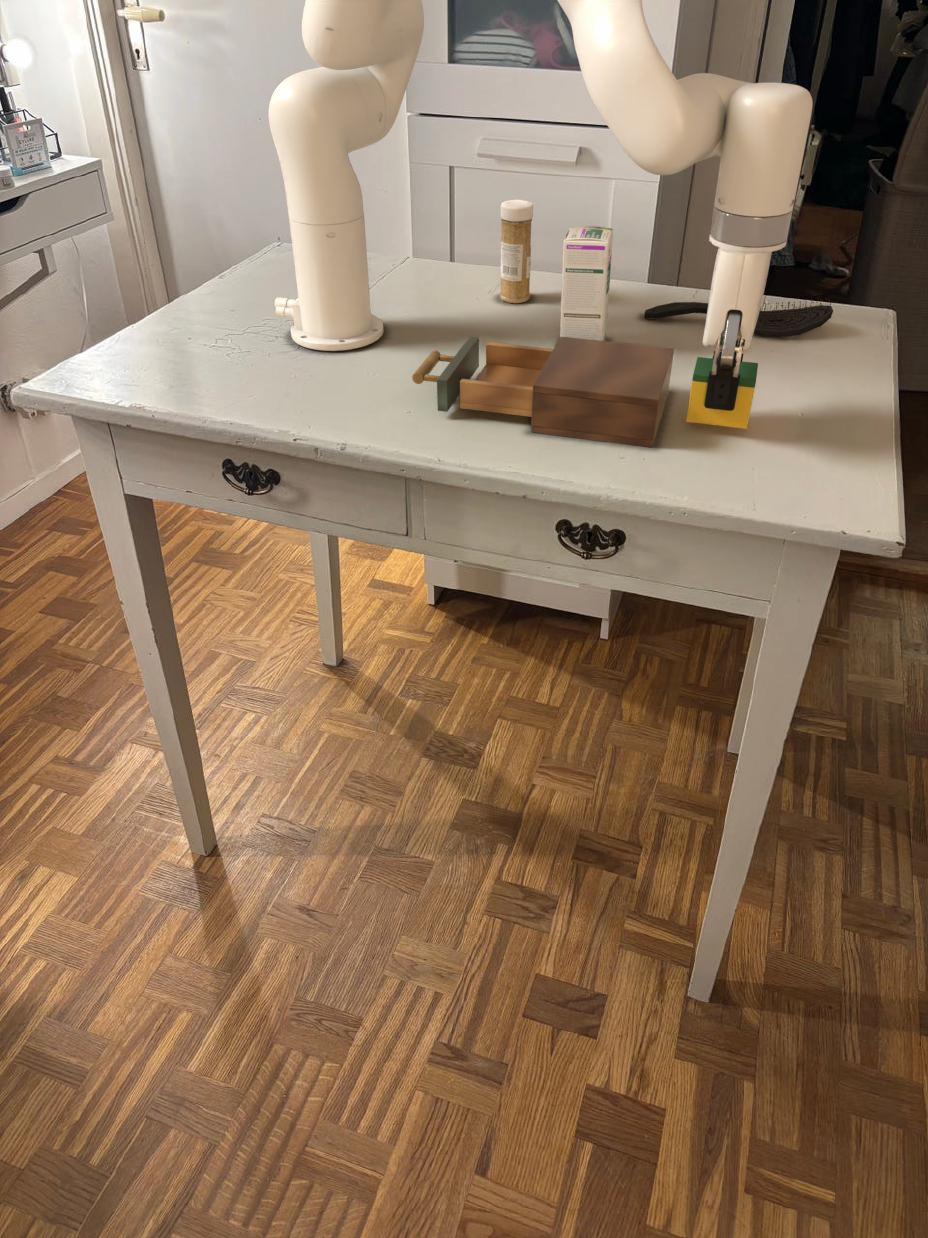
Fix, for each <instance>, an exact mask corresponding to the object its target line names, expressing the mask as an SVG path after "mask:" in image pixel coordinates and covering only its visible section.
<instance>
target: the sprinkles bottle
mask: <svg viewBox="0 0 928 1238" xmlns="http://www.w3.org/2000/svg"><path fill="white" fill-rule="evenodd" d="M533 217H534V204H533V203H532V202H531V201H528V200H525V199H510V200H505V201H503V202H501V204H500V221H501V236H500V275H499V276H500V294H499V298H500V300H501V301H502V302H505V303H509V304H520V303H525V302H527V301H529V300H530V298H531V293H530V287H531V286H530V285H531V282H530V280H531V268H532V267H531V265H532V263H531V262H532V261H531V260H532V255H531V253H532V245H531V242H532V221H533Z"/></svg>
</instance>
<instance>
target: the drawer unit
mask: <svg viewBox="0 0 928 1238" xmlns="http://www.w3.org/2000/svg"><path fill="white" fill-rule="evenodd" d="M552 349H553V351H552V353H551V354H550V356H549V358H548V360H547V362H546V363H545V365H544V367H543V369H542V370H541V372H540V374H539V376H538V378H537V379H536V381H535V383H534V385H533V395H532V417H531V422H530V423H531V425H530V432H531V433H536V434H542V435H543V434H544V435H551V436H560V437H565V438H566V437H567V438H575V439H583V440H591V441H599V442H608V443H615V444H623V445H629V446H630V445H631V446H638V447H639V446H640V447H648V448H653V446H654V443H655V439H656V436H657V433H658V430H659V425H660V423H661V419H662V417H663V416H662V415H663V413H664V409H665V406H666V402H667V398H668V396H669V395H668V394H669V390H670V384H671V382H670V381H671V375H672V368H673V361H674V353H675V347H667V346H657V345H647V344H638V343H628V342H627V343H626V342H619V341H607V340H605V341H599V340H589V339H579V338H569V337H560V336H559V338H558V340H557V342H556V344H555V345H554V348H552Z"/></svg>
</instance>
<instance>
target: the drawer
mask: <svg viewBox="0 0 928 1238" xmlns="http://www.w3.org/2000/svg"><path fill="white" fill-rule="evenodd" d="M485 346H486V347H485V365H484V367H483V368H482V369H481V371H480V372H479V373H478V375H477V377H476V378H475V379H472V377H473V376H474V374H475V373H476V371H477V370H478V369H479V367H480V337H479V336H472V335H471V336H468V337H467V340H466V341H465V342H464V343H463V344H462V347H460V348H459V350H458V351H457V353H456V354H455V355H448V354H447V355H445V354H441V352H440V351H438V350H435V349H434V350H432V351H431V352H430V353H429V354H428V355H427V357H426V358H425V359H424V360H423V362H422V363H421V364H420V365H419V367H418V368H417V369H416V370H415V371H414V373H413V374H412V376H411V379H412V381H413V382H414V384H416V385H422V384H423V383H424V382H431V383H436V400H437V401H436V403H437V405H436V406H437V411H438V412H444V413H447V412H449V410H450V409H451V407H452V406H453V405H454V403H455V402H456V401H457V399H458V398H459V407H460V409H463V410H470V411H471V410H473V411H480V412H488V413H497V414H504V415H513V416H519V417H520V416H521V417H530V418H532V395H533V385H534V383H535V381H536V379H537V378H538V376H539V374H540V372H541V370H542V369H543V367H544V365H545V363H546V362H547V360H548V358H549V356H550V354H551V353H552V351H553V349H554V348H549V347H548V348H547V347H538V346H529V345H521V344H520V345H519V344H509V343H501V342H492V341H491V342H490V341H488V342H487V343H486V344H485ZM439 362H446V363H448V364H447V366H445V369H444V370H443V371H442V372H441V374H440V375H436V374H435V375H434V374H430V373H431V372H432V371H433V370H434V368H435V367H436V366H437V364H438V363H439Z"/></svg>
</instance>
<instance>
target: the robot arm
mask: <svg viewBox="0 0 928 1238" xmlns="http://www.w3.org/2000/svg"><path fill="white" fill-rule="evenodd" d="M556 1H557V2H558V4H559V5H560V7H561V9H562V10H563V13H565V15H566V17H567V19H568V21H569V23H570V26H571V31H572V37H573V43H574V49H575V53H576V56H577V60H578V64H579V68H580V71H581V75H582V78H583V79H582V80H583V82H584V85H585V88H586V90H587V92H588V94H589V96H590V98H591V101H592V103H593V104H594V106H595V108H596V110H597V112H598V113H599V114H600V116H601V118H602V119H603V121H604V123H605V124H606V125H607V127H608V129H609V130H610V132H611V133H612V135H613V137H614V138H615V139H616V141H617V143H618V144H619V146H620V147H621V149H622V150H623V151H624V153H625V154H626V155H627V156H628V158H630V160H631V161H632V162H634V163H635V165H637V166H638V167H640V169H642V170H644V171H645V172H647V173H649V174H652V175H656V176H673V175H675V174H677V173H678V174H679V173H680V172H683V171H685V170H687V169H688V168H690V167H693V165H695V164H697V163H699V162H702V161H705V160H708V159H712V158H715V157H716V158H717V157H720V160H719V161H720V162H719V167H718V168H719V169H718V174H717V175H718V176H717V182H716V189H715V197H714V203H713V211H712V217H711V225H710V232H709V238H708V241H709V243H711V244H712V245H713V246H715V247H717V253H716V257H715V262H714V266H713V273H712V278H711V285H710V291H709V297H708V303H709V304H708V310H707V314H706V318H705V324H704V330H703V337H702V345H703V346H704V347H705V348H708V347H709V346H713V347H714V346H715V347H714V349H715V350H713V355H712V358H714V361H713V367H712V371H710V372H709V378H708V385H707V391H706V397H705V403H704V406H705V407H706V408H709V409H718V410H727V411H732V410H734V408H735V402H736V397H737V391H738V385H739V380H740V374H738V372H739V366H740V361H744V353H743V352H744V351H747V350H748V349H750V346H751V343H752V340H753V337H754V334H753V333H754V330H755V326H756V323H757V319H758V315H759V311H761V310H760V308H761V309H762V304H763V303H762V302H763V298H764V294H765V288H766V285H767V279H768V275H769V269H770V266H771V265H770V264H771V260H772V259H771V258H772V254H773V252H776V251H779V250H782V249H783V248H785V247H786V246H787V243H788V237H789V232H790V227H791V226H790V225H791V221H792V215H793V211H794V205H795V202H796V201H795V200H796V195H797V190H798V186H799V185H798V184H799V180H800V175H801V170H802V164H803V161H804V160H803V159H804V155H805V149H806V144H807V139H808V134H809V129H810V124H811V123H810V122H811V118H812V112H813V105H814V104H813V97H812V95H811V92H810V91H809V90H808V89H806V88H805V87H803V86H801V85H799V84H793V83H785V82H772V81H771V82H755V83H752V82H748V81H745V80H744V81H743V80H739V79H734V78H731V77H727V76H724V75H720V74H716V73H708V72H699V73H693V74H689V75H687V76H684V77H681V78H678V79H677V78H676V76H675V75H674V74H673V71H672V70H671V68H670V67H669V65H668V64H667V62H666V61H665V58H664V57H663V55H662V54H661V52H660V50H659V48H658V46H657V45H656V43H655V41H654V38H653V36H652V35H651V32H650V29H649V27H648V23H647V21H646V17H645V14H644V8H643V0H556ZM424 13H425V12H424V6H423V1H422V0H305V1H304V5H303V12H302V18H301V38H302V42H303V45H304V48H305V50H306V52H307V54H308V55H309V57H310V58H311V59H312V60H313V61H314V62H315V63H316V64H318V65H320V66H319V67H314V68H310V69H306V70H302V71H299V72H296V73H293V74H292V75H290V76H287V77H286V78H285V79H284V80H282V81H281V82H280V83H279V84H278V85H277V86H276V87H275V90H274V91H273V93H272V95H271V97H270V100H269V104H268V114H267V115H268V124H269V129H270V130H269V131H270V134H271V137H272V141H273V143H274V146H275V151H276V154H277V158H278V161H279V164H280V169H281V174H282V178H283V184H284V191H285V199H286V205H287V215H288V222H289V227H290V228H289V230H290V239H291V245H292V246H291V247H292V255H293V264H294V272H295V281H296V282H295V283H296V288H297V297H296V299H293V298H289V297H282V296H277V297H276V298H275V299H274V304H273V305H274V309H275V310H274V311H275V316H276V317H278V318H291V320H292V321H293V323H292V325H291V327H290V337H291V339H292V340H293V342H295V344H297V345H299V346H301V347H304V348H307V349H310V350H314V351H323V352H324V351H325V352H339V351H350V350H355V349H359V348H363V347H366V346H369V345H372V344H374V343H375V342H377V341H378V340H379V339H380V338H382V336H383V335H384V323H383V320H382V319H381V318H379V317H377V316H376V315H374V314H372V306H371V294H370V278H369V266H368V250H367V237H366V221H365V210H364V198H363V192H362V187H361V184H360V181H359V178H358V176H357V174H356V172H355V170H354V166H353V165H352V163H351V160H350V157H349V153H351V152H354V151H357V150H360V149H363V148H366V147H369V146H372V145H375V144H376V143H378V142H380V141H381V140H382V139H384V138H385V137H386V136H387V135H388V134H389V133H390V131H391V130H392V128H393V126H394V124H395V122H396V120H397V118H398V114H399V112H400V109H401V106H402V103H403V100H404V97H405V94H406V91H407V88H408V84H409V82H410V79H411V76H412V73H413V69H414V67H415V64H416V61H417V57H418V55H419V52H420V48H421V45H422V41H423V36H424V30H425V29H424V27H425V15H424ZM717 368H718V369H717ZM733 369H734V370H733Z"/></svg>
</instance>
